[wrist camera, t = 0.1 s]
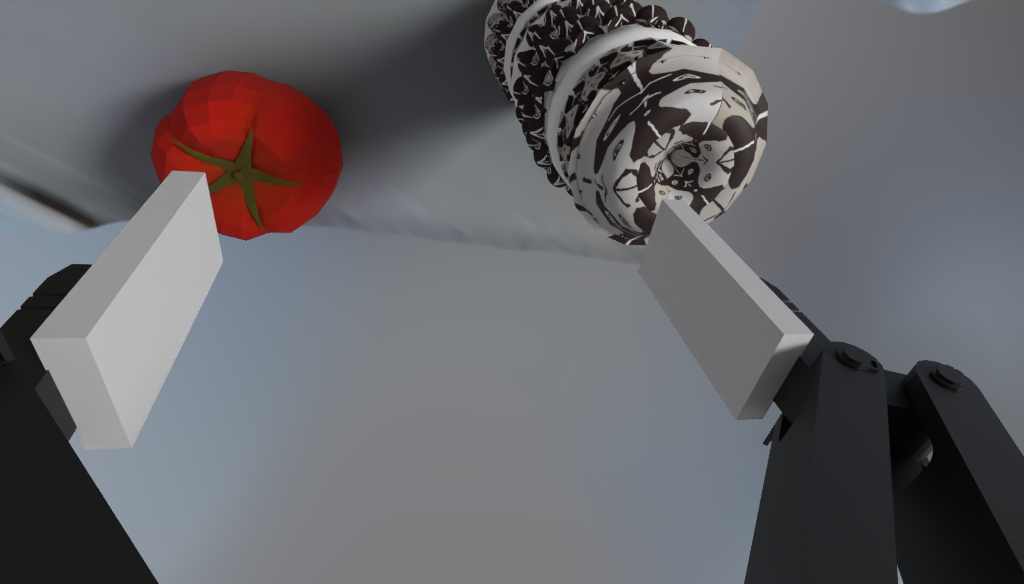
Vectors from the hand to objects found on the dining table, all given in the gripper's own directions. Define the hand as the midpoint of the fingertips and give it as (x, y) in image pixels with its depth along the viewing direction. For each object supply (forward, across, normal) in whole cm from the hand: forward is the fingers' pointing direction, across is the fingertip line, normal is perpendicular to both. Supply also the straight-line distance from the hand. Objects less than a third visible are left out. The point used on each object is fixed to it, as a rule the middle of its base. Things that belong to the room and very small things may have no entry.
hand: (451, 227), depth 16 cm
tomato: (+28, -11, -8) cm, 31 cm away
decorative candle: (+28, +9, +1) cm, 30 cm away
